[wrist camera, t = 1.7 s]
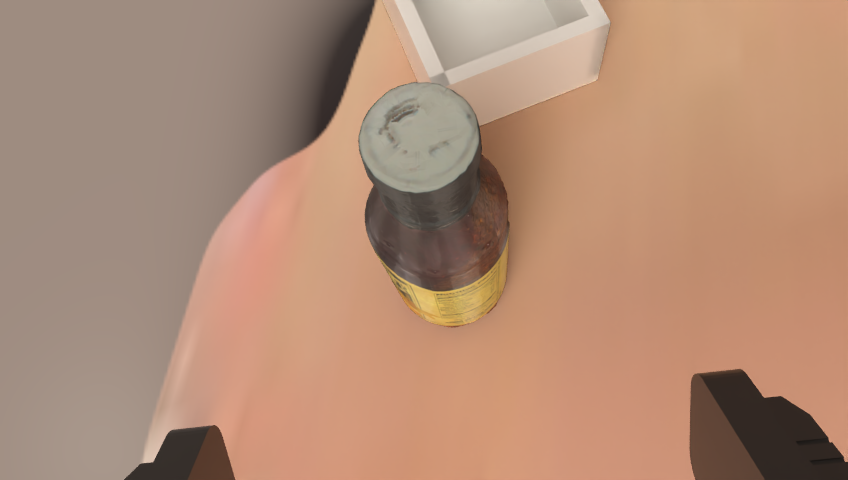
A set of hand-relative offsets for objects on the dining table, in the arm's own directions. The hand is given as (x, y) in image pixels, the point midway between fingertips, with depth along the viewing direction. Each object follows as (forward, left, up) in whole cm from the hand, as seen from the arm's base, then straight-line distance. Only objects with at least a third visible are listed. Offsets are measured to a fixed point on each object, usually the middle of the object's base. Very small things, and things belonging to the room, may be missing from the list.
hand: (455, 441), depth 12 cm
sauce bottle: (-2, -11, -28) cm, 30 cm away
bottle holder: (-10, -25, -28) cm, 39 cm away
